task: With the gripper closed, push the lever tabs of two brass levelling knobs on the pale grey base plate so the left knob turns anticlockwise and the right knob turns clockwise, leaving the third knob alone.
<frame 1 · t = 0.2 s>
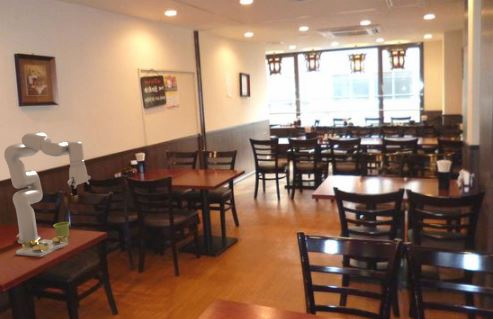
hand: (81, 193, 248), 31 cm above the table, tool pointing down, fingers open, 9 cm apart
knob near: (30, 243, 250), point 4 cm above the table, hinge at 0.0°
plant pot: (63, 238, 270), on the table
base plate: (42, 249, 251), on the table
knob 1: (41, 247, 241), point 4 cm above the table, hinge at 0.0°
knob 2: (60, 238, 254), point 4 cm above the table, hinge at 0.0°
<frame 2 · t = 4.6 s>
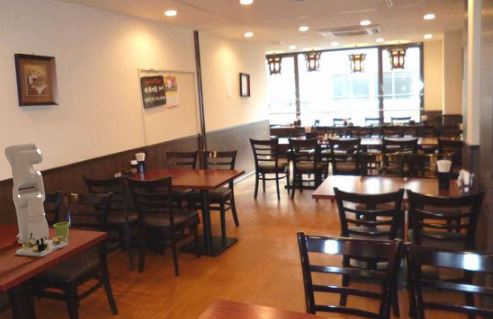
hand: (41, 250, 238), 3 cm above the table, tool pointing down, fingers closed
knob 1: (41, 247, 241), point 4 cm above the table, hinge at 1.8°, touching gripper
everything else where it was.
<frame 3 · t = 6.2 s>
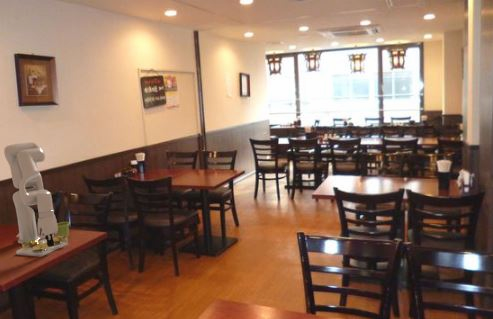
hand: (50, 246, 243), 4 cm above the table, tool pointing down, fingers closed
knob 1: (42, 245, 243), point 4 cm above the table, hinge at 51.1°, touching gripper
everything else where it was.
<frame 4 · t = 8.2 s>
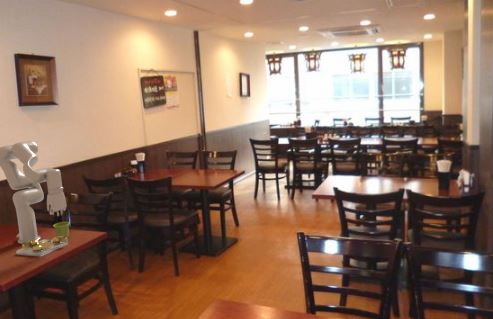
hand: (59, 222, 250), 15 cm above the table, tool pointing down, fingers closed
knob 1: (42, 245, 244), point 4 cm above the table, hinge at 66.1°
everything else where it was.
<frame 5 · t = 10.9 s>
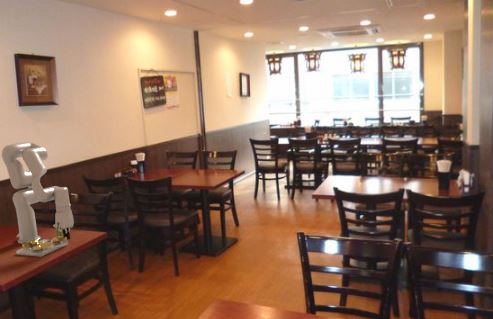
hand: (67, 239, 255), 3 cm above the table, tool pointing down, fingers closed
knob 2: (59, 238, 254), point 4 cm above the table, hinge at -3.8°, touching gripper
everything else where it was.
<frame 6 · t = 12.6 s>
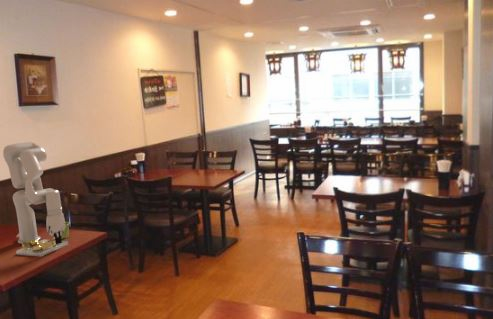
hand: (58, 243, 249), 3 cm above the table, tool pointing down, fingers closed
knob 2: (55, 240, 252), point 4 cm above the table, hinge at -60.4°, touching gripper
everything else where it was.
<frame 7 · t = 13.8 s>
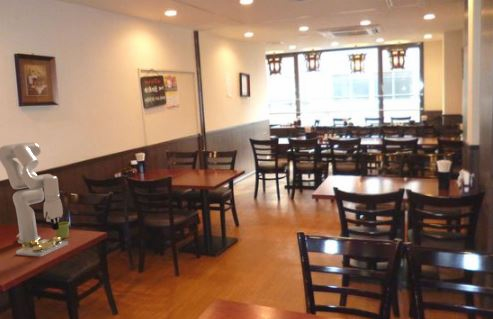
hand: (55, 229, 248), 11 cm above the table, tool pointing down, fingers closed
knob 2: (55, 240, 252), point 4 cm above the table, hinge at -63.1°
everything else where it was.
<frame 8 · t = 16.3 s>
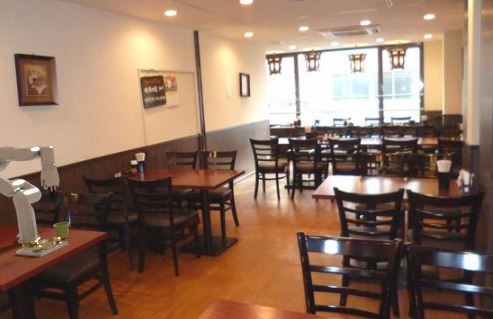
hand: (52, 197, 260), 27 cm above the table, tool pointing down, fingers closed
knob 2: (55, 240, 252), point 4 cm above the table, hinge at -62.6°
everything else where it was.
at the end: knob 1 at +66° (first picture: +0°); knob 2 at -63° (first picture: +0°); knob near at +0° (first picture: +0°) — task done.
